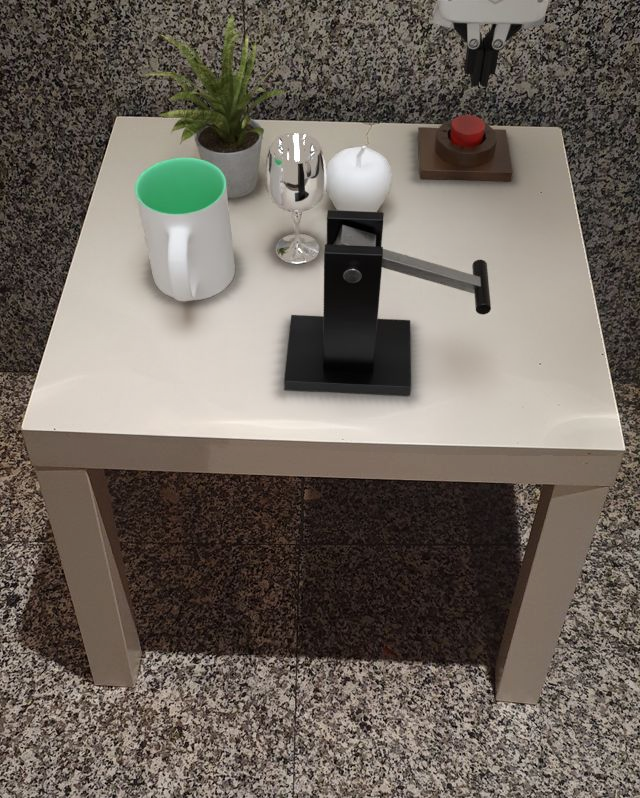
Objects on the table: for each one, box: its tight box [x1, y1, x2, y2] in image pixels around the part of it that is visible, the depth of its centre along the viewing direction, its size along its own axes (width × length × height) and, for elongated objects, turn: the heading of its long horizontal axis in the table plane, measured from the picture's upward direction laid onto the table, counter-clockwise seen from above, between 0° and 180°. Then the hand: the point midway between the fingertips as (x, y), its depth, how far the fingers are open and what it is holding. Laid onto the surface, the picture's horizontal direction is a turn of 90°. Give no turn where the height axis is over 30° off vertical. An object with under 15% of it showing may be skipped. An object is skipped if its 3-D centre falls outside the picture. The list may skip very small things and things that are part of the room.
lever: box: [334, 225, 492, 315], centre depth 67 cm, size 13×5×2 cm, turn 86°
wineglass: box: [264, 132, 327, 265], centre depth 80 cm, size 6×6×12 cm
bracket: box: [283, 209, 412, 397], centre depth 70 cm, size 11×8×15 cm
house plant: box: [144, 13, 286, 199], centre depth 86 cm, size 14×14×16 cm
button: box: [450, 114, 486, 147], centre depth 91 cm, size 4×4×2 cm
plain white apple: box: [325, 145, 393, 212], centre depth 86 cm, size 7×7×8 cm
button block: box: [417, 118, 514, 182], centre depth 93 cm, size 10×8×3 cm
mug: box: [134, 157, 236, 302], centre depth 77 cm, size 12×8×10 cm, turn 4°
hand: (478, 79), depth 86 cm, fingers closed
